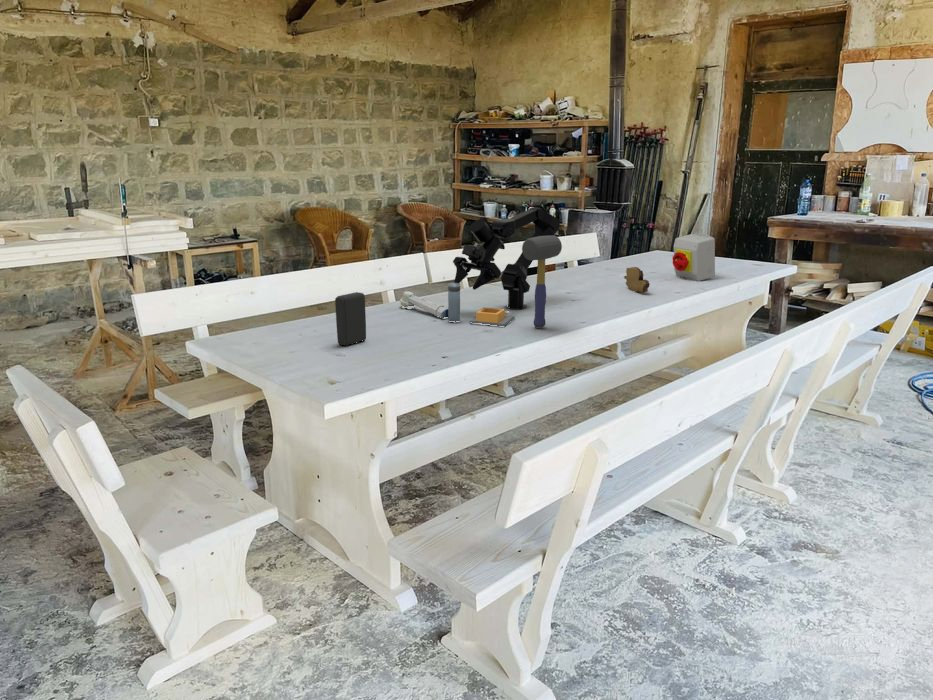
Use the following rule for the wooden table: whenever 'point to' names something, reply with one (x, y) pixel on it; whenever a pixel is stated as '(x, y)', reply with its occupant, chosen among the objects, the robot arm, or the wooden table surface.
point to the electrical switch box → (694, 256)
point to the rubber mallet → (541, 269)
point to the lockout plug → (454, 302)
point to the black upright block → (350, 318)
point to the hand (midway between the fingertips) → (463, 286)
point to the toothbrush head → (423, 304)
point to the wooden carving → (636, 280)
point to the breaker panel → (493, 317)
